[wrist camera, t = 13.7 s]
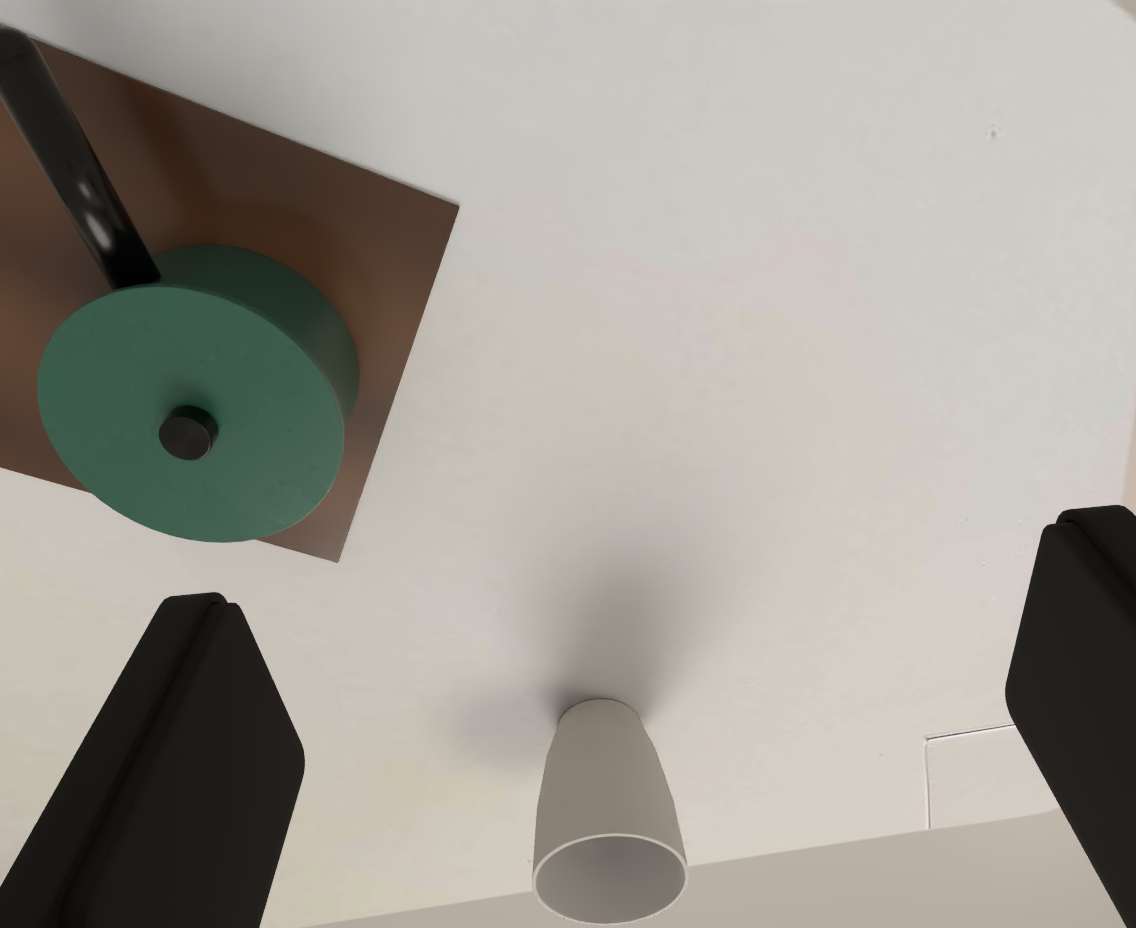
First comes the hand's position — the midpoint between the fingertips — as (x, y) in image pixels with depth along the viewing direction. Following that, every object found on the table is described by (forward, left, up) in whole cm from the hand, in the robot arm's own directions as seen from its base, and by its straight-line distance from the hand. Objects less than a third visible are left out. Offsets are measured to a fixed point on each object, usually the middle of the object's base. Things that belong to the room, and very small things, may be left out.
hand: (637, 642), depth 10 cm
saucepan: (+11, -13, -28) cm, 33 cm away
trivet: (+14, -12, -28) cm, 34 cm away
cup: (+31, +15, -28) cm, 45 cm away
